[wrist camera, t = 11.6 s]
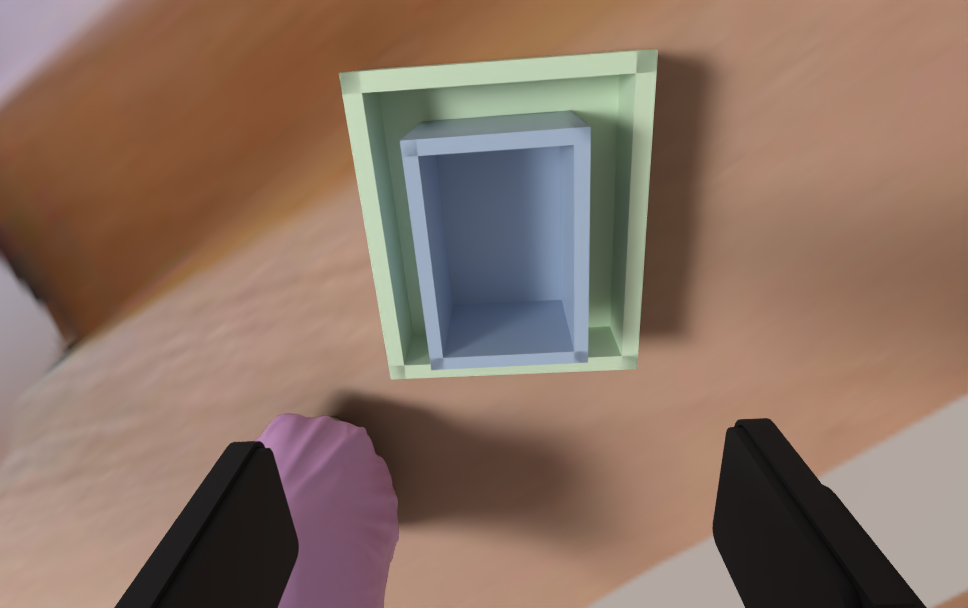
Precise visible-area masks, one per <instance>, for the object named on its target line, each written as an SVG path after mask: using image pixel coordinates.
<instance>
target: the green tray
mask: <svg viewBox="0 0 968 608" xmlns="http://www.w3.org/2000/svg"><path fill="white" fill-rule="evenodd" d="M657 58H658V49H648V50H624V51H611V52H597V53H584V54H570V55H557V56H543V57H530V58H516V59H503V60H489V61H476V62H462V63H449V64H436V65H422V66H409V67H395V68H382V69H368V70H358V71H350V72H343V73H339V77H340V83H341V89H342V95H343V101H344V107H345V112H346V118H347V124H348V130H349V136H350V142H351V148H352V154H353V160H354V165H355V171H356V177H357V183H358V189H359V195H360V201H361V207H362V212H363V218H364V224H365V230H366V236H367V242H368V248H369V254H370V259H371V265H372V271H373V277H374V283H375V289H376V295H377V301H378V307H379V312H380V318H381V324H382V330H383V336H384V342H385V348H386V354H387V359H388V365H389V371H390V377H391V379H412V378H436V377H460V376H483V375H507V374H531V373H555V372H578V371H602V370H626V369H637V362H638V347H639V332H640V316H641V301H642V286H643V271H644V256H645V241H646V225H647V210H648V195H649V180H650V165H651V149H652V134H653V119H654V104H655V89H656V74H657ZM566 110H571V111H572V112H574V113H575V114H576V115H577V116H579V117H580V118H581V119H582V120H583V121H585V122H586V123H587V124H588V125H589V126H591V156H590V240H589V323H588V363H570V364H549V365H528V366H507V367H487V368H466V369H445V370H431V365H430V357H429V350H428V343H427V336H426V328H425V321H424V314H423V306H422V299H421V292H420V285H419V277H418V270H417V263H416V255H415V248H414V241H413V234H412V226H411V219H410V212H409V204H408V197H407V190H406V183H405V175H404V168H403V161H402V153H401V146H400V140H401V139H402V138H403V137H404V136H406V135H407V134H408V133H409V132H410V131H411V130H412V129H413V128H415V127H416V126H417V125H418V124H419V123H420V122H421V121H433V120H446V119H460V118H473V117H486V116H500V115H513V114H526V113H540V112H553V111H566Z"/></svg>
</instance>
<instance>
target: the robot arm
mask: <svg viewBox="0 0 968 608" xmlns="http://www.w3.org/2000/svg"><path fill="white" fill-rule="evenodd" d="M713 536H714V540H715V543H716V546H717V548H718V550H719V552H720V554H721V556H722V558H723V561H724V563H725V565H726V567H727V569H728V571H729V574H730V576H731V578H732V580H733V582H734V584H735V586H736V589H737V590H738V593H739V595H740V597H741V599H742V601H743V604H744V606H745V608H926V606H925V605H924V604H923V603H922V601H921V600H920V599H919V598H918V596H917V595H916V594H915V593H914V591H913V590H912V589H911V588H910V587H909V585H908V584H907V583H906V582H905V580H904V579H903V578H902V577H901V575H900V574H899V573H898V572H897V570H896V569H895V568H894V567H893V565H892V564H891V563H890V562H889V560H888V559H887V558H886V557H885V555H884V554H883V553H882V552H881V550H880V549H879V548H878V547H877V545H876V544H875V543H874V542H873V540H872V539H871V538H870V537H869V535H868V534H867V533H866V532H865V530H864V529H863V528H862V527H861V525H860V524H859V523H858V522H857V520H856V519H855V518H854V517H853V515H852V514H851V513H850V512H849V510H848V509H847V508H846V507H845V506H844V504H843V503H842V502H841V500H840V499H839V498H838V497H837V495H836V494H835V493H833V491H832V490H831V489H830V488H828V487H826V486H824V485H822V484H821V482H820V481H819V480H818V479H817V477H816V476H815V475H814V473H813V472H812V471H811V470H810V468H809V467H808V466H807V465H806V463H805V462H804V461H803V459H802V458H801V457H800V456H799V454H798V453H797V452H796V451H795V449H794V448H793V447H792V446H791V444H790V443H789V442H788V440H787V439H786V438H785V437H784V435H783V434H782V433H781V432H780V430H779V429H778V428H777V426H776V425H775V424H774V423H773V422H772V421H771V420H770V419H767V418H763V419H740V420H737V422H736V423H735V426H734V427H730V428H728V429H727V432H726V437H725V444H724V451H723V458H722V465H721V472H720V478H719V485H718V492H717V499H716V506H715V513H714V519H713ZM298 552H299V541H298V537H297V534H296V530H295V527H294V523H293V520H292V516H291V513H290V509H289V506H288V502H287V499H286V495H285V492H284V489H283V485H282V482H281V478H280V475H279V471H278V468H277V464H276V461H275V457H274V454H273V451H272V450H271V448H265V446H264V444H263V443H262V442H260V441H249V442H233V443H230V444H229V446H228V447H227V448H226V449H225V451H224V452H223V454H222V455H221V456H220V458H219V459H218V461H217V462H216V464H215V465H214V466H213V468H212V469H211V471H210V472H209V474H208V475H207V476H206V478H205V479H204V481H203V482H202V484H201V485H200V486H199V488H198V489H197V491H196V492H195V494H194V495H193V496H192V498H191V499H190V501H189V502H188V504H187V505H186V506H185V508H184V509H183V511H182V512H181V514H180V515H179V516H178V518H177V519H176V521H175V522H174V523H173V525H172V526H171V528H170V529H169V531H168V532H167V533H166V535H165V536H164V538H163V539H162V541H161V542H160V543H159V545H158V546H157V548H156V549H155V550H154V552H153V553H152V555H151V556H150V558H149V559H148V560H147V562H146V563H145V565H144V566H143V568H142V569H141V570H140V572H139V573H138V575H137V576H136V578H135V579H134V580H133V582H132V583H131V585H130V586H129V588H128V589H127V590H126V592H125V593H124V595H123V596H122V598H121V599H120V600H119V602H118V603H117V605H116V606H115V608H278V606H279V603H280V601H281V598H282V596H283V593H284V591H285V588H286V586H287V583H288V581H289V578H290V576H291V573H292V571H293V568H294V565H295V563H296V560H297V557H298Z"/></svg>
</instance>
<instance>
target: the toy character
mask: <svg viewBox="0 0 968 608" xmlns="http://www.w3.org/2000/svg"><path fill="white" fill-rule="evenodd" d="M255 441H260V442H262V443H263V444H264V446H265V448H271V450H272V451H273V454H274V457H275V461H276V464H277V468H278V471H279V475H280V478H281V482H282V485H283V489H284V492H285V495H286V499H287V502H288V506H289V509H290V513H291V516H292V520H293V523H294V527H295V530H296V534H297V537H298V541H299V552H298V557H297V560H296V563H295V565H294V568H293V571H292V573H291V576H290V578H289V581H288V583H287V586H286V588H285V591H284V593H283V596H282V598H281V601H280V603H279V606H278V608H384V595H385V588H386V583H387V578H388V571H389V566H390V562H391V561H392V558H393V554H394V550H395V546H396V543H397V541H398V538H399V526H398V514H397V510H398V498H397V496H396V494H395V490H394V489H393V486H392V478H391V474H390V472H389V469H388V467H387V464H386V462H385V461H384V459H383V458H382V457H381V456H377V455H376V454H375V451H374V447H373V443H372V441H371V439H370V437H369V436H368V434H367V432H366V429H365V428H364V427H357V426H355V425H353V424H350V423H348V422H343V421H341V420H339V419H338V418H335V417H329V416H321V417H316V418H310V417H305V416H302V415H298V414H282V415H278V416H277V417H276V418H275V419H274V420H273V421H272V422H271V423H270V424H269V425H268V426H267V428H266V429H265V431H264V432H263V434H262V435H261V436H260V437H259V438H257V439H256V440H255Z"/></svg>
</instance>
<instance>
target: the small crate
mask: <svg viewBox="0 0 968 608" xmlns="http://www.w3.org/2000/svg"><path fill="white" fill-rule="evenodd" d="M400 146H401V153H402V161H403V168H404V175H405V183H406V190H407V197H408V204H409V212H410V219H411V226H412V234H413V241H414V248H415V255H416V263H417V270H418V277H419V285H420V292H421V299H422V306H423V314H424V321H425V328H426V336H427V343H428V350H429V357H430V365H431V370H445V369H466V368H487V367H507V366H528V365H549V364H570V363H588V323H589V240H590V156H591V126H589V125H588V124H587V123H586V122H585V121H583V120H582V119H581V118H580V117H579V116H577V115H576V114H575V113H574V112H572V111H571V110H566V111H553V112H540V113H526V114H513V115H500V116H486V117H473V118H460V119H446V120H433V121H421V122H420V123H419V124H418V125H417V126H416V127H415V128H413V129H412V130H411V131H410V132H409V133H408V134H407V135H406V136H404V137H403V138H402V139H401V140H400Z"/></svg>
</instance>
